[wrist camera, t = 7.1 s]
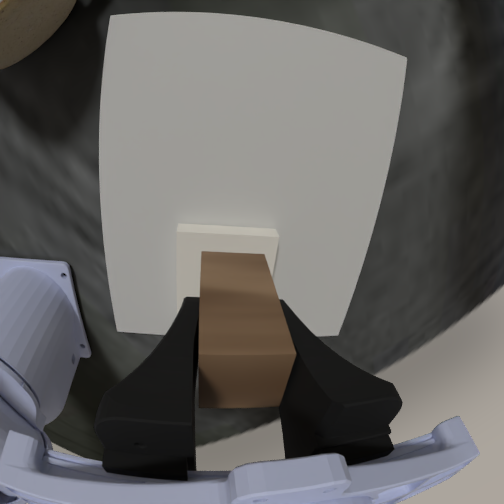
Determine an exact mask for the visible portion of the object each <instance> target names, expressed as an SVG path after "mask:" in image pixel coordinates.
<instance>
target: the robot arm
mask: <svg viewBox="0 0 504 504" xmlns="http://www.w3.org/2000/svg"><path fill="white" fill-rule="evenodd" d="M63 273H65V274H66V275H67V276H65V275H63ZM279 301H280V304H281V307H282V310H283V313H284V316H285V319H286V323H287V326H288V329H289V332H290V335H291V338H292V341H293V345H294V348H295V351H296V357H295V360H294V363H293V366H292V370H291V373H290V376H289V379H288V382H287V385H286V388H285V391H284V394H283V397H282V400H281V403H280V406H279V411H280V417H281V425H282V432H283V440H284V450H285V459H281V460H270V461H260V462H253V463H247V464H244V465H241V466H238V467H236V468H235V469H234V470H232V471H196V450H195V387H196V378H197V369H198V359H199V303H200V297H185V298H184V300H183V303H182V306H181V308H180V310H179V312H178V314H177V316H176V318H175V320H174V321H173V323H172V325H171V327H170V328H169V330H168V331H167V333H166V334H165V336H164V337H163V339H162V340H161V341H160V343H159V344H158V345H157V347H156V348H155V349H154V350H153V352H152V353H151V354H150V355H149V356H148V357H147V358H146V359H145V360H144V361H143V362H142V363H141V364H140V365H139V366H138V367H137V368H136V369H135V370H134V371H133V372H132V373H130V374H129V375H128V376H127V377H126V378H125V379H123V380H122V381H121V382H119V383H118V384H116V385H115V386H113V387H112V388H111V389H109V390H108V391H106V392H105V393H104V395H103V397H102V399H101V402H100V404H99V407H98V410H97V413H96V418H95V423H94V430H95V433H96V434H97V436H98V438H99V439H100V441H101V443H102V445H103V446H104V455H103V462H102V461H97V460H92V459H87V458H82V457H77V456H73V455H68V454H65V453H60V452H57V451H53V448H52V444H51V441H50V439H49V437H48V436H47V434H46V433H45V432H44V431H43V428H44V425H46V424H48V423H50V422H51V421H53V420H54V419H55V418H56V417H57V416H58V415H59V414H60V413H61V411H62V410H63V408H64V406H65V403H66V399H67V396H68V393H69V390H70V387H71V383H72V380H73V377H74V374H75V371H76V369H77V366H78V363H79V360H80V357H84V358H89V357H90V356H91V350H90V346H89V343H88V340H87V336H86V333H85V329H84V326H83V322H82V318H81V314H80V310H79V306H78V302H77V298H76V293H75V289H74V284H73V279H72V274H71V269H70V266H69V265H68V263H66V262H63V261H50V260H36V259H23V258H10V257H0V504H26V503H28V504H396V503H398V502H401V501H403V500H405V499H408V498H410V497H412V496H414V495H416V494H418V493H421V492H423V491H425V490H427V489H429V488H431V487H433V486H435V485H437V484H439V483H441V482H443V481H445V480H447V479H449V478H451V477H452V476H453V475H455V474H456V473H457V472H459V471H460V470H461V469H463V468H464V467H465V466H466V465H468V464H469V463H470V462H471V461H472V460H474V459H475V458H476V457H477V456H478V455H479V454H480V452H479V450H478V449H477V447H476V445H475V443H474V441H473V439H472V438H471V436H470V434H469V432H468V430H467V429H466V427H465V425H464V423H463V422H462V420H461V418H460V416H456V417H453V418H451V419H448V420H446V421H444V422H441V423H440V424H439V425H437V426H436V427H435V428H434V430H433V431H432V432H431V433H429V434H426V435H423V436H421V437H418V438H414V439H411V440H408V441H405V442H402V443H399V444H395V445H393V444H392V442H391V439H390V437H389V434H390V433H391V429H390V427H389V424H390V422H391V421H392V420H393V419H394V418H395V416H396V415H397V414H398V412H399V411H400V409H401V407H402V400H401V398H400V396H399V394H398V392H397V390H396V388H395V386H394V385H393V383H390V382H388V381H385V380H382V379H380V378H378V377H376V376H373V375H371V374H369V373H367V372H365V371H364V370H362V369H360V368H358V367H356V366H355V365H353V364H351V363H350V362H348V361H347V360H345V359H344V358H342V357H341V356H339V355H338V354H337V353H335V352H334V351H333V350H331V349H330V348H329V347H328V346H326V345H325V344H324V343H323V342H322V341H321V340H320V339H319V338H318V337H316V336H315V335H314V334H313V333H312V332H311V331H310V330H309V329H308V328H307V326H306V325H305V324H304V323H303V322H302V321H301V320H300V319H299V318H298V317H297V315H296V314H295V313H294V312H293V311H292V310H291V308H290V307H289V306H288V305H287V304H286V303H285V301H284V300H283V299H279Z"/></svg>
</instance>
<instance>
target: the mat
mask: <svg viewBox="0 0 504 504" xmlns="http://www.w3.org/2000/svg"><path fill="white" fill-rule="evenodd" d="M406 64H407V58H406V57H404V56H401V55H399V54H396V53H393V52H391V51H388V50H385V49H383V48H380V47H377V46H374V45H371V44H368V43H365V42H362V41H359V40H356V39H353V38H349V37H346V36H342V35H339V34H335V33H331V32H328V31H324V30H320V29H316V28H311V27H307V26H302V25H297V24H292V23H287V22H282V21H276V20H270V19H263V18H256V17H248V16H240V15H230V14H217V13H199V12H151V13H134V14H122V15H112V16H110V22H109V28H108V35H107V42H106V49H105V57H104V66H103V76H102V88H101V103H100V126H99V177H100V200H101V216H102V228H103V239H104V249H105V258H106V266H107V273H108V280H109V287H110V294H111V300H112V306H113V311H114V317H115V322H116V327H117V331H118V332H130V333H142V334H156V335H165V334H166V333H167V331H168V330H169V328H170V327H171V325H172V323H173V321H174V320H175V318H176V316H177V284H176V237H177V228H178V223H181V224H201V225H220V226H238V227H254V228H270V229H276V231H277V233H278V235H279V242H278V247H277V253H276V259H275V264H274V270H273V276H272V279H273V282H274V285H275V288H276V291H277V294H278V298H279V299H283V300H284V301H285V303H286V304H287V305H288V306H289V307H290V308H291V310H292V311H293V312H294V313H295V314H296V315H297V317H298V318H299V319H300V320H301V321H302V322H303V323H304V324H305V325H306V326H307V328H308V329H309V330H310V331H311V332H312V333H313V334H314V335H315V336H337V335H338V334H339V331H340V329H341V326H342V323H343V321H344V318H345V315H346V313H347V310H348V307H349V304H350V301H351V298H352V296H353V293H354V290H355V287H356V284H357V281H358V278H359V275H360V271H361V268H362V265H363V262H364V259H365V256H366V252H367V249H368V246H369V242H370V239H371V235H372V232H373V228H374V225H375V221H376V217H377V214H378V210H379V206H380V202H381V198H382V194H383V190H384V186H385V182H386V178H387V173H388V169H389V164H390V160H391V155H392V150H393V145H394V140H395V135H396V130H397V125H398V119H399V113H400V107H401V101H402V94H403V87H404V80H405V72H406Z"/></svg>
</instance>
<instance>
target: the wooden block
mask: <svg viewBox="0 0 504 504" xmlns="http://www.w3.org/2000/svg"><path fill="white" fill-rule="evenodd" d="M295 357H296V351H295V348H294V345H293V341H292V338H291V335H290V332H289V329H288V326H287V323H286V319H285V316H284V313H283V310H282V307H281V304H280V301H279V298H278V294H277V291H276V288H275V285H274V282H273V279H272V276H271V273H270V270H269V267H268V263H267V260H266V257H265V254H252V253H231V252H210V251H201V272H200V303H199V408H256V407H275V406H280V403H281V400H282V397H283V394H284V391H285V388H286V385H287V382H288V379H289V376H290V373H291V370H292V366H293V363H294V360H295Z"/></svg>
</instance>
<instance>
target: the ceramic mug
mask: <svg viewBox="0 0 504 504" xmlns="http://www.w3.org/2000/svg"><path fill="white" fill-rule="evenodd" d="M75 3H76V0H0V69H4V68H7V67H9V66H11V65H13V64H15V63H17V62H19V61H20V60H22V59H23V58H25V57H27V56H28V55H29V54H31V53H32V52H34V51H35V50H36V49H37V48H39V47H40V46H41V45H42V44H43V43H44V42H45V41H46V40H47V39H49V38H50V37H51V36H52V35H53V34H54V32H55V31H56V30H57V29H58V28H59V27H60V26H61V24H62V23H63V22H64V21H65V20H66V18H67V17H68V15H69V14H70V12H71V11H72V9H73V7H74V5H75Z"/></svg>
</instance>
